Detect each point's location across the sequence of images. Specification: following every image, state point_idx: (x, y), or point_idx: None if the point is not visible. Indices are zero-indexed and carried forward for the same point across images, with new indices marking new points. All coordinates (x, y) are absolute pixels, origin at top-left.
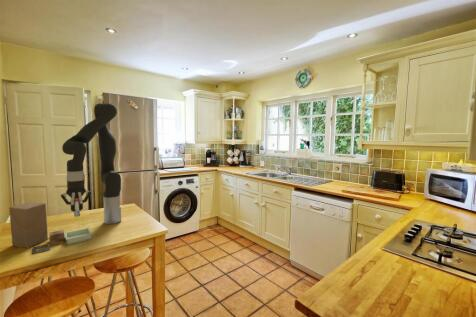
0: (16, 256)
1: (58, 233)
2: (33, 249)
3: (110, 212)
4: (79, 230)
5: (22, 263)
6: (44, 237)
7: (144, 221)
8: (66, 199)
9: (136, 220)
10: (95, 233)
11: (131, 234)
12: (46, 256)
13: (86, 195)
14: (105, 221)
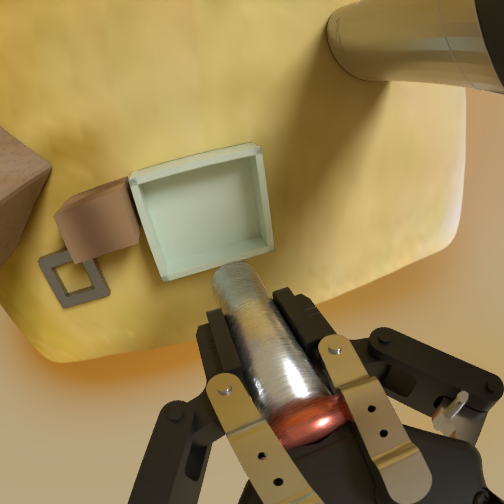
0: (23, 302)
1: (110, 247)
2: (50, 284)
3: (406, 77)
4: (207, 164)
5: (73, 351)
6: (38, 187)
7: (450, 135)
8: (198, 492)
9: (436, 103)
10: (281, 169)
11: (392, 243)
12: (122, 333)
13: (430, 399)
14: (340, 52)
